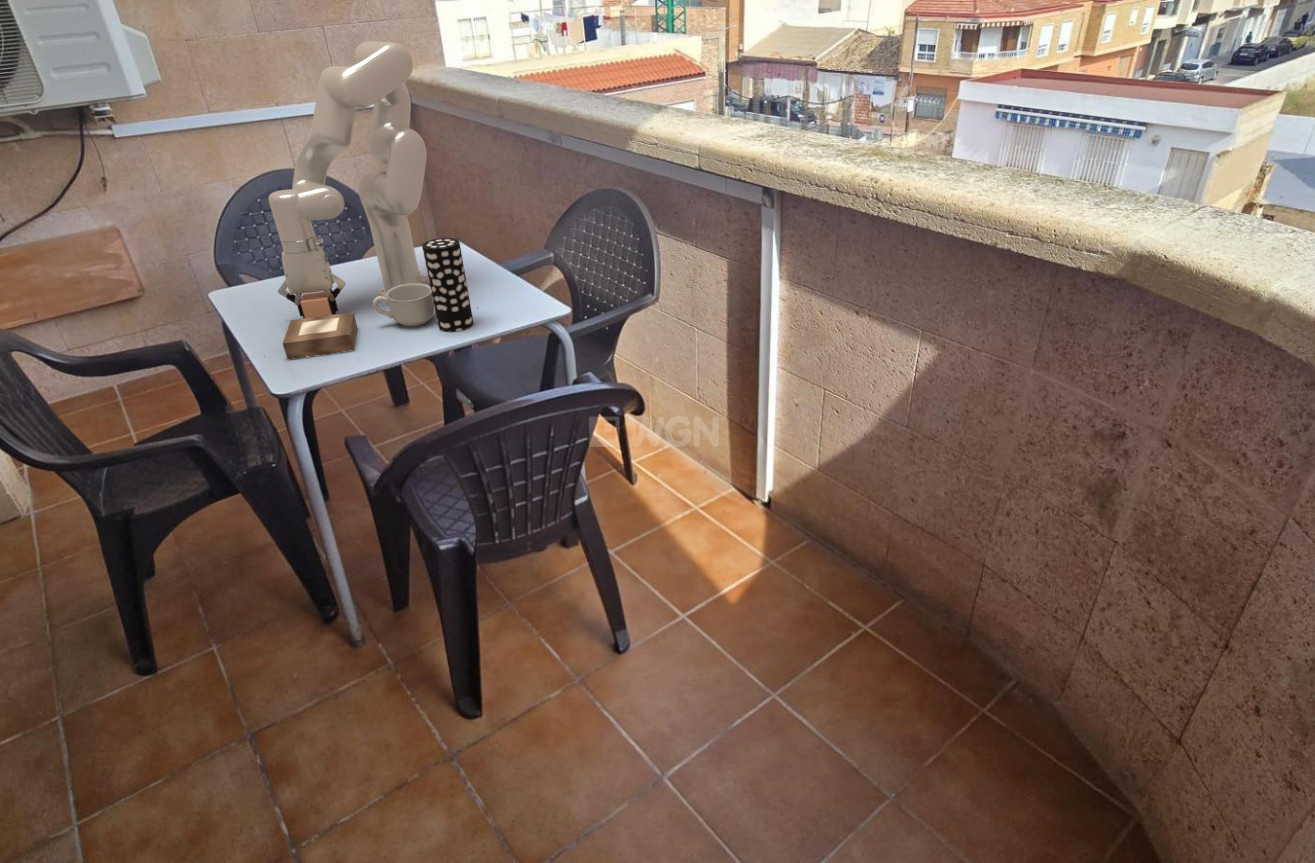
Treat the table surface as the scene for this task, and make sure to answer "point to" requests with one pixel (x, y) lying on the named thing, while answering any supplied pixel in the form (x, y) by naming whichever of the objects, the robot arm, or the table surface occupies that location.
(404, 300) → the teacup
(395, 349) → the table surface
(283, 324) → the table surface
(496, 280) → the table surface
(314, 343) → the plinth
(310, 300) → the cube
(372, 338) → the table surface
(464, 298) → the spotted tube
